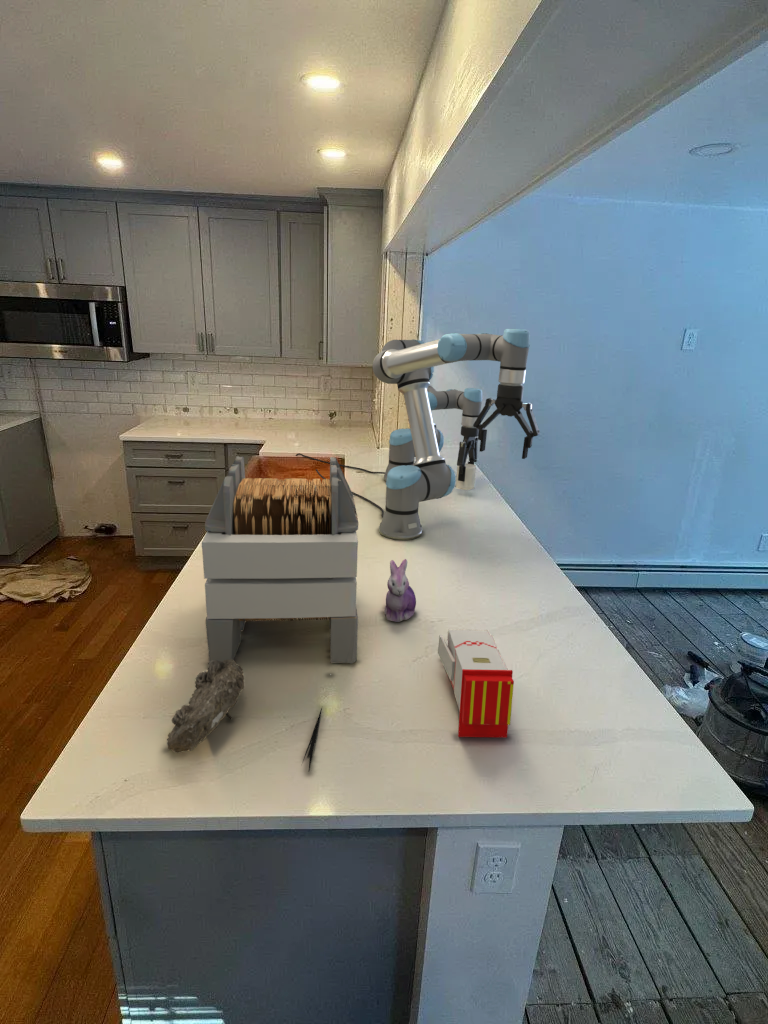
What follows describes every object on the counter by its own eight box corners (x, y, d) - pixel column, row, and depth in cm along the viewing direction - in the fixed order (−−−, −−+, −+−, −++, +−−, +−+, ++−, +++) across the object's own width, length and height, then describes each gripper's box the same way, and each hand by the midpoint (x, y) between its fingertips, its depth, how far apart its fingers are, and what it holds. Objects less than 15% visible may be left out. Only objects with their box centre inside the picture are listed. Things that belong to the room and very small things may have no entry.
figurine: (392, 627, 141) (395, 572, 136) (374, 608, 149) (376, 556, 144) (425, 619, 145) (429, 566, 140) (405, 601, 154) (408, 550, 149)
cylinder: (470, 491, 240) (473, 469, 237) (453, 488, 243) (454, 466, 240) (476, 486, 247) (478, 465, 244) (459, 483, 250) (460, 462, 247)
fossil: (192, 660, 117) (244, 628, 112) (224, 691, 120) (276, 661, 115) (142, 746, 98) (202, 712, 93) (182, 779, 101) (242, 748, 96)
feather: (331, 679, 122) (336, 673, 122) (307, 777, 96) (313, 769, 95) (324, 675, 122) (329, 669, 121) (298, 772, 95) (304, 764, 95)
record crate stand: (229, 593, 154) (221, 446, 140) (349, 591, 157) (353, 448, 144) (206, 668, 122) (192, 488, 108) (357, 664, 126) (363, 489, 112)
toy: (488, 613, 130) (523, 677, 101) (484, 667, 133) (517, 744, 104) (435, 612, 130) (455, 676, 101) (432, 666, 133) (451, 743, 103)
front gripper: (556, 387, 164) (546, 458, 171) (476, 378, 176) (470, 445, 183) (549, 389, 158) (539, 463, 165) (466, 380, 170) (460, 450, 177)
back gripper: (468, 431, 226) (463, 485, 233) (488, 424, 243) (483, 475, 250) (451, 428, 230) (446, 482, 237) (472, 421, 246) (467, 472, 254)
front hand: (502, 454), depth 174 cm, fingers open, 13 cm apart
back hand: (465, 478), depth 244 cm, fingers closed on cylinder, 8 cm apart
